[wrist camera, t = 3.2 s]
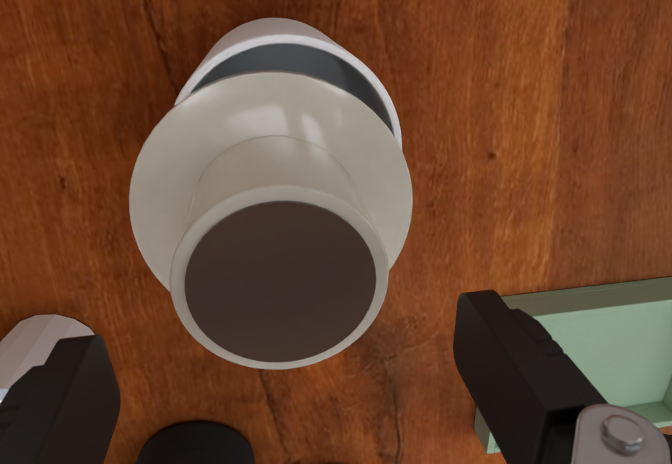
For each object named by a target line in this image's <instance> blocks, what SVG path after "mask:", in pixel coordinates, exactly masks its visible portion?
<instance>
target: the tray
mask: <svg viewBox="0 0 672 464" xmlns="http://www.w3.org/2000/svg"><path fill="white" fill-rule="evenodd" d="M501 298H502V300H503V301H504V302H505V304H506V305H507V306H508V307H509V309H517V308H519V309H521V310H522V311H524V312H525V313H527V314H528V315H530V316H532V317H533V318H535V319H536V320H538V321H539V322H540V323H541V324H542V325H543V327H544V328H545V329H546V330H547V331H548V333H549V334H550V335H551V336H552V339H553V340H555V341H556V342H557V343H558V344H559V346H560V347H561V348H562V349H563V352H564V354H567V355H568V356H569V357H570V358H571V360H572V361H573V362H574V363H575V364H576V366H577V367H578V368H579V369H580V370H581V371H582V373H583V374H584V375H585V376H586V377H587V379H588V380H589V381H590V382H591V383H592V384H593V386H594V387H595V388H596V389H597V390H598V392H599V393H600V394H601V395H602V396H603V397H604V399H605V400H606V401H607V402H608V403H609V404H612V405H617V406H621V407H624V408H627V409H630V410H632V411H634V412H636V413H638V414H640V415H641V416H643V417H645V418H646V419H647V420H649V421H650V422H651V423H653V424H654V425H655V426H656V427H657V428H658V427H665V426H671V425H672V277H666V278H657V279H648V280H640V281H631V282H623V283H614V284H606V285H597V286H589V287H580V288H571V289H563V290H554V291H546V292H537V293H529V294H520V295H511V296H503V297H501ZM474 429H475V432H476V433H477V435H478V438H479V440H480V442H481V444H482V446H483V448H484V450H485V452H486V454H491V453H497V452H501V451H500V449H499V447H498V445H497V443H496V441H495V440H494V438H493V436H492V434H491V432H490V430H489V428H488V426H487V424H486V422H485V421H484V419H483V417H482V415H481V413H480V411H479V409H478V407H477V408H476V415H475V422H474Z"/></svg>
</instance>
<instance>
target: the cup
mask: <svg viewBox="0 0 672 464" xmlns="http://www.w3.org/2000/svg"><path fill="white" fill-rule="evenodd" d="M255 70H288V71H294V72H301V73H306V74H309V75H313V76H316V77H320V78H323V79H325V80H327V81H330V82H332V83H334V84H336V85H339V86H341V87H342V88H344V89H346V90H347V91H349V92H350V93H352V94H354V95H355V96H357V97H358V98H359V99H360V100H362V101H363V102H364V103H365V104H366V105H368V106H369V107H370V108H371V109H372V110H373V111H374V112H375V113H376V114H377V115H378V117H379V118H380V119H381V120H382V121H383V122H384V123H385V124H386V125H387V127H388V128H389V130H390V131H391V133H392V134H393V136H394V137H395V139H396V140H397V142H398V144H399V146H400V148H401V150H402V137H401V129H400V125H399V120H398V116H397V113H396V110H395V107H394V105H393V103H392V101H391V98H390V96H389V95H388V93H387V91H386V90H385V88H384V86H383V85H382V84H381V82H380V81H379V79H378V78H377V77H376V76H375V75H374V73H373V72H372V71H371V70H370V69H369V68H368V67H367V66H366V65H365V64H364V63H362V62H361V61H360V60H359V59H357V58H356V57H355V56H353V55H352V54H351V53H349V52H348V51H346V50H345V49H344V48H342V47H341V46H340V45H338V44H337V43H335V42H334V41H333V40H331V39H330V38H328V37H327V36H326V35H324V34H323V33H322V32H320V31H318V30H317V29H315V28H313V27H311V26H309V25H307V24H305V23H302V22H299V21H295V20H291V19H285V18H263V19H258V20H254V21H251V22H247V23H245V24H243V25H240V26H238V27H236V28H235V29H233V30H231V31H230V32H228V33H227V34H226V35H224V36H223V37H222V38H221V39H220V40H219V41H218V42H217V43H216V44H215V45H214V46H213V48H212V49H211V50H210V51H209V53H208V54H207V55H206V57H205V58H204V59H203V61H202V62H201V64H200V65H199V66H198V68H197V69H196V70H195V72H194V73H193V74H192V76H191V77H190V78H189V80H188V81H187V83H186V84H185V86H184V87H183V88H182V90H181V92H180V94H179V96H178V97H177V99H176V102H175V104H174V105H176V104H177V103H178V102H179V101H181V100H182V99H183V98H184V97H185V96H187V95H188V94H190V93H192V92H193V91H195V90H197V89H198V88H200V87H202V86H203V85H206V84H208V83H210V82H213V81H215V80H218V79H220V78H222V77H226V76H230V75H233V74H237V73H241V72H247V71H255Z"/></svg>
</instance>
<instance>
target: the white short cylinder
mask: <svg viewBox="0 0 672 464" xmlns="http://www.w3.org/2000/svg"><path fill="white" fill-rule="evenodd" d="M87 335H95V334H94V333H93V332H92V330H91V329H90V328H89V327H87V326H85V325H84V324H82V323H80V322H79V321H77V320H75V319H72V318H68V317H64V316H60V315H56V314H50V315H35V316H33V317H30V318H28V319H25V320H22V321H20V322H19V323H18V324H17V325H16V326H15V327H14V328H13V329H12V330H11V331H10V332H9V333H8V334H7V335H6V337H5V338H4V339H3V340H2V341H1V342H0V403H1V402H2V400H3V398H4V397H5V395H6V393H7V392H8V390H9V389H10V387H11V386H12V385H13V384H14V383H15V382H16V381H17V380H18V379H19V378H21V377H22V376H23V375H24V374H25V373H26V372H27V371H28V370H29V369H31V368H32V367H33V366H39V365H44V364H45V362H46V360H47V358H48V357H49V355H50V353H51V351H52V349H53V348H54V346H55V344H56V343H57V341H58V340H59V339H62V338H70V337H79V336H87Z"/></svg>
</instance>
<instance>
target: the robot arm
mask: <svg viewBox="0 0 672 464" xmlns="http://www.w3.org/2000/svg"><path fill="white" fill-rule="evenodd" d="M453 351H454V358H455V362H456V366H457V369H458V371H459V373H460V375H461V377H462V379H463V381H464V383H465V385H466V386H467V388H468V390H469V392H470V394H471V396H472V398H473V400H474V402H475V404H476V405H477V407H478V409H479V411H480V413H481V415H482V417H483V419H484V421H485V422H486V424H487V426H488V428H489V430H490V432H491V434H492V436H493V438H494V440H495V441H496V443H497V445H498V447H499V449H500V451H501V453H502V455H503V457H504V459H505V460H506V462H507V464H672V435H667V434H662V433H661V432H660V430H659V429H658V428H657V427H656V426H655V425H654V424H653V423H651V422H650V421H649V420H647V419H646V418H645V417H643V416H641V415H640V414H638V413H636V412H634V411H632V410H630V409H627V408H624V407H621V406H617V405H612V404H609V403H608V402H607V401H606V400H605V399H604V397H603V396H602V395H601V394H600V393H599V392H598V390H597V389H596V388H595V387H594V386H593V384H592V383H591V382H590V381H589V380H588V379H587V377H586V376H585V375H584V374H583V373H582V371H581V370H580V369H579V368H578V367H577V366H576V364H575V363H574V362H573V361H572V360H571V358H570V357H569V356H568V355H567V354H564V352H563V349H562V348H561V347H560V346H559V344H558V343H557V342H556V341H555V340H553V339H552V336H551V335H550V334H549V333H548V331H547V330H546V329H545V328H544V327H543V325H542V324H541V323H540V322H539V321H538V320H536V319H535V318H533V317H532V316H530V315H528V314H527V313H525V312H524V311H522V310H521V309H519V308H517V309H509V307H508V306H507V305H506V304H505V302H504V301H503V300H502V298H501V297H500V296H499V295H498V293H497V292H496V291H494V290H484V291H475V292H467V293H461V294H460V295H459V297H458V302H457V313H456V323H455V333H454V343H453ZM119 411H120V391H119V386H118V383H117V380H116V377H115V374H114V370H113V367H112V364H111V361H110V358H109V355H108V352H107V349H106V346H105V343H104V340H103V338H102V337H101V336H100V335H98V334H96V335H87V336H79V337H70V338H62V339H59V340H58V341H57V343H56V344H55V346H54V348H53V349H52V351H51V353H50V355H49V357H48V358H47V360H46V362H45V364H44V365H39V366H33V367H32V368H31V369H29V370H28V371H27V372H26V373H25V374H24V375H23V376H22V377H21V378H19V379H18V380H17V381H16V382H15V383H14V384H13V385H12V386H11V387H10V389H9V390H8V392H7V393H6V395H5V397H4V398H3V400H2V402H1V403H0V464H103V463H104V460H105V457H106V454H107V451H108V448H109V444H110V441H111V438H112V435H113V432H114V429H115V426H116V423H117V420H118V416H119Z"/></svg>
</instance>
